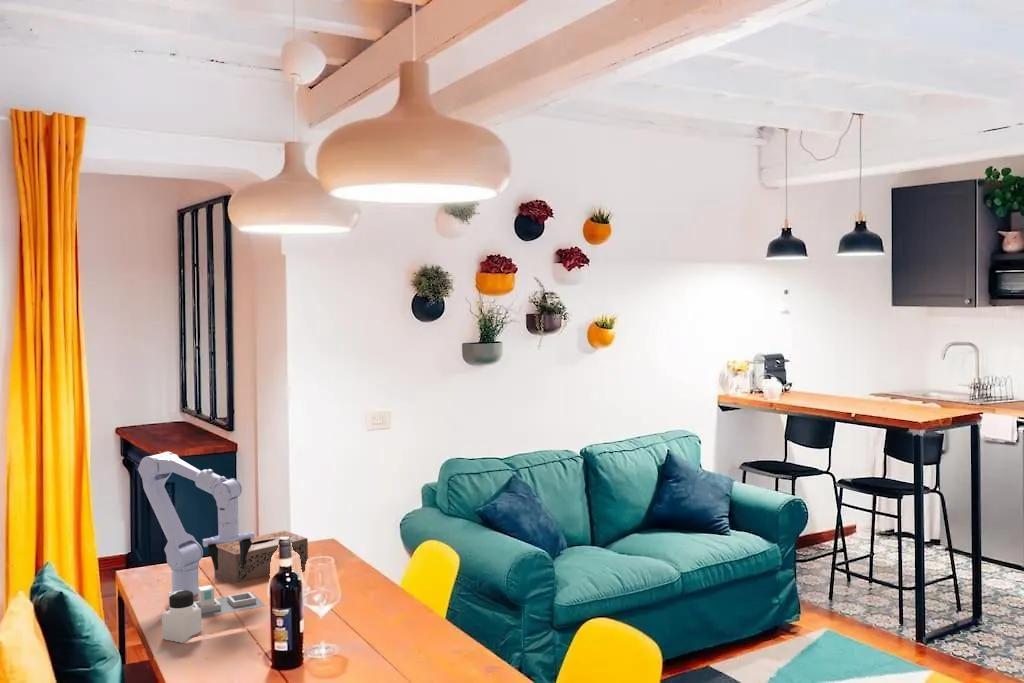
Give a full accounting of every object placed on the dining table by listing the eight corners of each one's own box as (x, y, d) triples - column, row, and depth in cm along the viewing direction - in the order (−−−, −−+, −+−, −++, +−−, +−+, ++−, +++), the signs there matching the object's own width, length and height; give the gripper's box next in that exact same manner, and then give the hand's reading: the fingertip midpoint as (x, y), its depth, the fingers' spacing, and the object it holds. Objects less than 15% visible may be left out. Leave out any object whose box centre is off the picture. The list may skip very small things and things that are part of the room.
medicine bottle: (202, 634, 242) (201, 590, 241) (182, 643, 235) (181, 598, 234) (182, 630, 245) (181, 586, 244) (161, 639, 238) (160, 594, 237)
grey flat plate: (182, 608, 262) (182, 599, 262) (252, 595, 272) (252, 587, 272) (194, 622, 250) (193, 613, 250) (265, 609, 261) (265, 600, 260)
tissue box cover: (236, 586, 282) (235, 554, 282) (214, 576, 293) (213, 545, 292) (308, 568, 301) (307, 538, 300) (285, 559, 311) (284, 530, 310)
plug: (198, 608, 259) (197, 587, 259) (211, 605, 261) (210, 585, 261) (202, 612, 255) (201, 591, 255) (215, 609, 257) (214, 589, 257)
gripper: (206, 527, 259) (207, 574, 259) (256, 520, 266) (257, 566, 267) (200, 522, 265) (201, 568, 265) (250, 515, 272) (251, 560, 273)
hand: (229, 567), depth 267 cm, fingers open, 7 cm apart
